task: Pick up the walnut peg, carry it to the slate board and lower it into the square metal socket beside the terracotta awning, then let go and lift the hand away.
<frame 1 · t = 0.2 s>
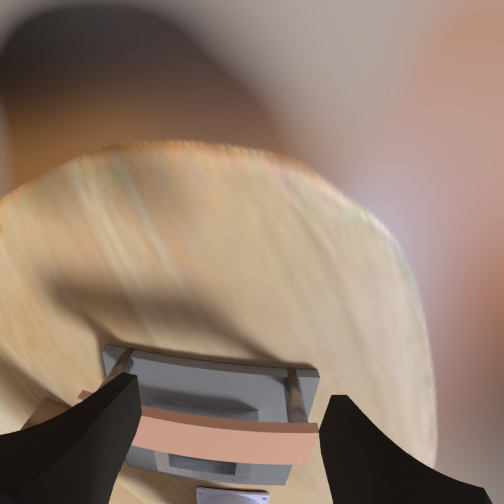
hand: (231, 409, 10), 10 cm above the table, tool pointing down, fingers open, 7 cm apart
socket board: (206, 428, 23), on the table
walnut peg: (65, 417, 23), on the table
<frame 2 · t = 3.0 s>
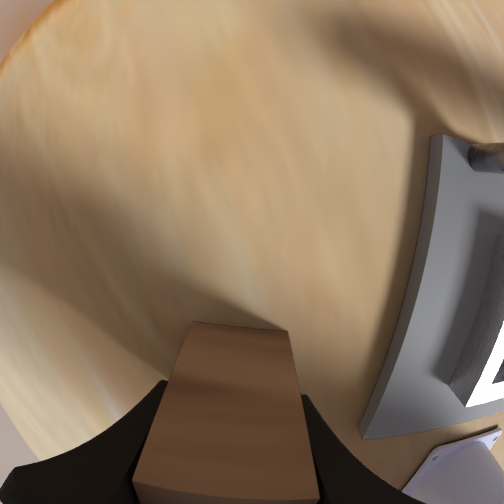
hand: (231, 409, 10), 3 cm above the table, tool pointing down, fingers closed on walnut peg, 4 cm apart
walnut peg: (235, 365, 13), on the table, touching gripper
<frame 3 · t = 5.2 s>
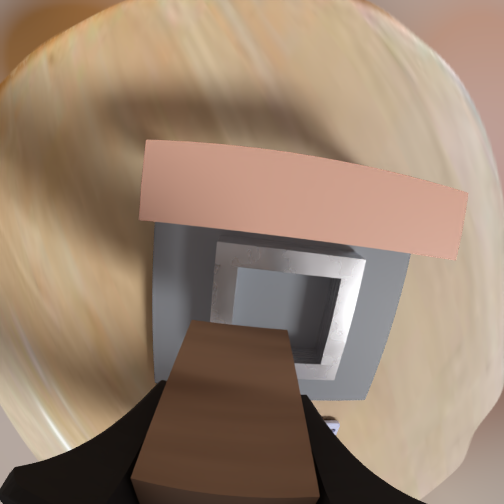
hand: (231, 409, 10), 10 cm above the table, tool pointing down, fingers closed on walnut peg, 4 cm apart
socket board: (278, 299, 20), on the table
walnut peg: (235, 364, 13), point 7 cm above the table, touching gripper
when the fingers open (5 cm above the table, at t = 7.5 s): walnut peg stays where it is, resting on socket board.
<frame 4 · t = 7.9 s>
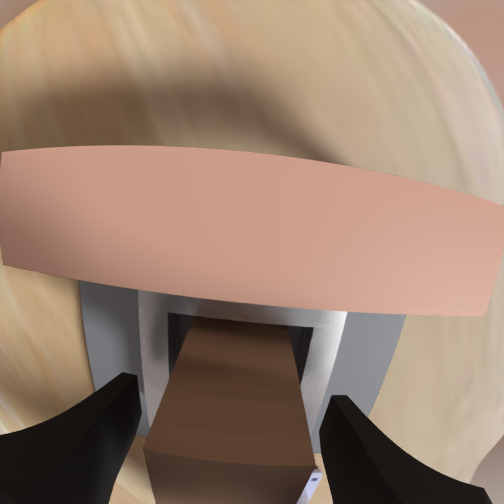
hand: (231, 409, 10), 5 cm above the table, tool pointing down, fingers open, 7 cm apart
socket board: (237, 343, 15), on the table
walnut peg: (237, 352, 14), point 1 cm above the table, touching socket board
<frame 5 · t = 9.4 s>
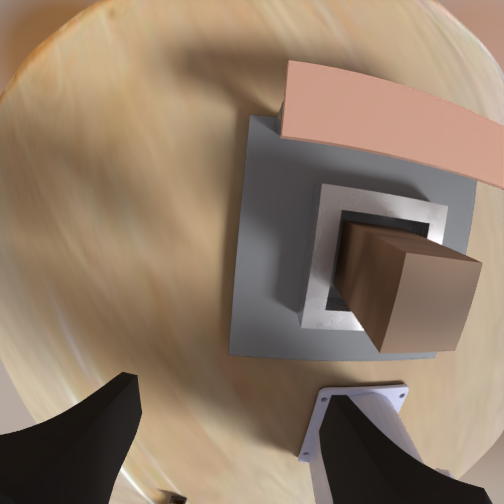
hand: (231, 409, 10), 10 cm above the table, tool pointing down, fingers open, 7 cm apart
socket board: (363, 253, 19), on the table
walnut peg: (368, 256, 18), point 1 cm above the table, touching socket board
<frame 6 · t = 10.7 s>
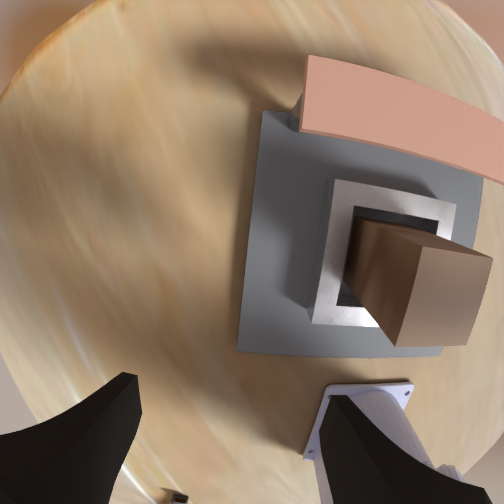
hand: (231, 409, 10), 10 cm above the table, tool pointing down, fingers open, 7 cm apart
socket board: (372, 250, 19), on the table
walnut peg: (378, 252, 18), point 1 cm above the table, touching socket board
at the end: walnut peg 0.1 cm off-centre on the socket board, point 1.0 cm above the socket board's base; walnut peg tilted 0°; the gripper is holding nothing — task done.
